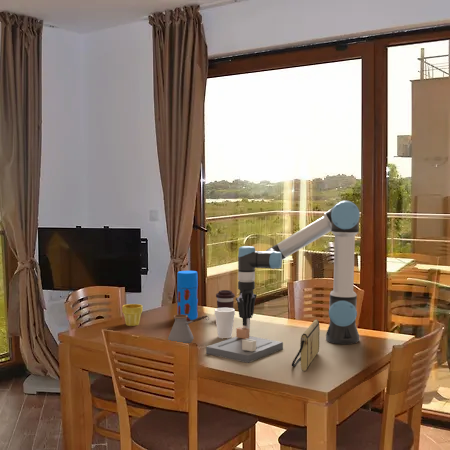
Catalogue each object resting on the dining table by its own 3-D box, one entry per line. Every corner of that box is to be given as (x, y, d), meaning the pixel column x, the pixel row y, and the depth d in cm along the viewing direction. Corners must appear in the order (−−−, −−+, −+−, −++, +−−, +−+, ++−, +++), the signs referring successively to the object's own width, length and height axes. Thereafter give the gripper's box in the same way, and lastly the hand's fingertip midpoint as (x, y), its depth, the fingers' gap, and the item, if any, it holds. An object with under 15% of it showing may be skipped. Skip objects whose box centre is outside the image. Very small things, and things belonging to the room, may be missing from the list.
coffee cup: (217, 316, 334) (217, 289, 333) (235, 317, 332) (235, 289, 331) (214, 320, 324) (214, 292, 323) (233, 321, 322) (233, 293, 321)
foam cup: (237, 335, 293) (237, 308, 292) (229, 340, 284) (229, 312, 283) (219, 333, 297) (219, 307, 296) (211, 338, 288) (211, 310, 287)
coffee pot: (162, 344, 277) (162, 311, 276) (179, 339, 286) (179, 307, 285) (199, 352, 264) (199, 318, 263) (216, 346, 273) (215, 313, 272)
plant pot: (146, 325, 314) (146, 306, 314) (127, 327, 309) (127, 308, 308) (137, 321, 323) (137, 302, 322) (119, 323, 317) (118, 305, 316)
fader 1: (249, 337, 276) (249, 328, 276) (245, 338, 274) (245, 329, 273) (240, 335, 279) (240, 327, 279) (236, 337, 277) (236, 328, 276)
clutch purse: (303, 351, 265) (304, 317, 264) (320, 353, 263) (320, 318, 262) (288, 372, 237) (288, 333, 236) (306, 373, 235) (306, 335, 234)
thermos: (197, 320, 324) (196, 273, 323) (176, 320, 324) (176, 273, 323) (198, 316, 335) (198, 270, 333) (178, 316, 335) (178, 270, 334)
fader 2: (256, 349, 256) (256, 340, 255) (252, 351, 253) (252, 341, 253) (246, 347, 259) (246, 338, 258) (242, 349, 256) (242, 339, 256)
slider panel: (282, 348, 269) (282, 341, 269) (248, 362, 249) (248, 355, 249) (242, 340, 283) (242, 334, 283) (206, 353, 262) (206, 346, 262)
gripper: (248, 278, 284) (248, 328, 286) (231, 281, 274) (230, 333, 276) (261, 279, 279) (261, 330, 281) (244, 283, 269) (244, 336, 271)
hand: (246, 332), depth 278 cm, fingers closed
